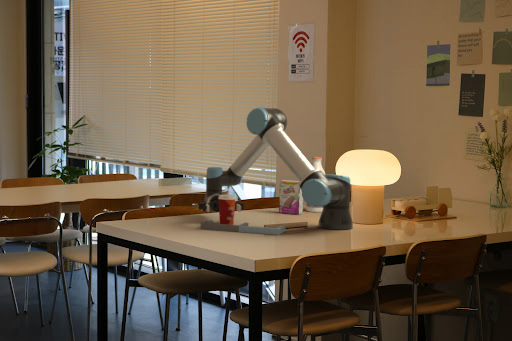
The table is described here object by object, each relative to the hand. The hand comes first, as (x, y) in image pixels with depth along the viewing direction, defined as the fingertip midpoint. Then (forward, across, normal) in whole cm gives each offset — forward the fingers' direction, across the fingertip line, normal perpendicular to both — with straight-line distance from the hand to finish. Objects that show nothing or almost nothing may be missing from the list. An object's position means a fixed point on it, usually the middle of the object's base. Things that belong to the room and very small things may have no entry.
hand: (224, 208), depth 318 cm
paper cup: (+3, 0, -8) cm, 9 cm away
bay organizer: (+9, -7, -8) cm, 14 cm away
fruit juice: (-51, -56, -8) cm, 76 cm away
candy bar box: (-43, -41, -8) cm, 60 cm away
